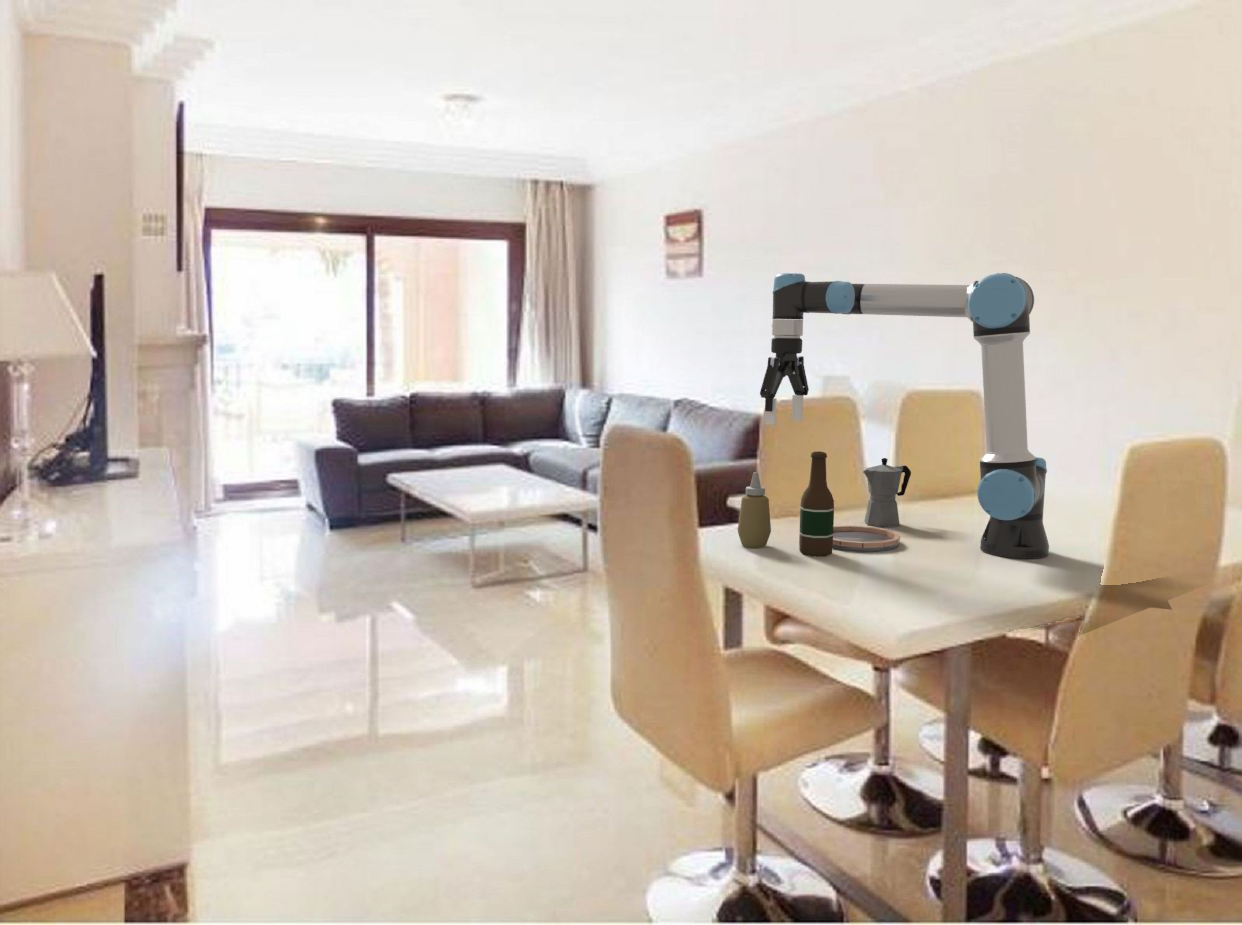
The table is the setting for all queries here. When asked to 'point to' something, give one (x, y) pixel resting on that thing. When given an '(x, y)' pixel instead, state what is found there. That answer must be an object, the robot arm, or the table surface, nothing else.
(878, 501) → the coffeepot
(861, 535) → the dish
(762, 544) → the squeeze bottle
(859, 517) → the table surface
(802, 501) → the beer bottle
